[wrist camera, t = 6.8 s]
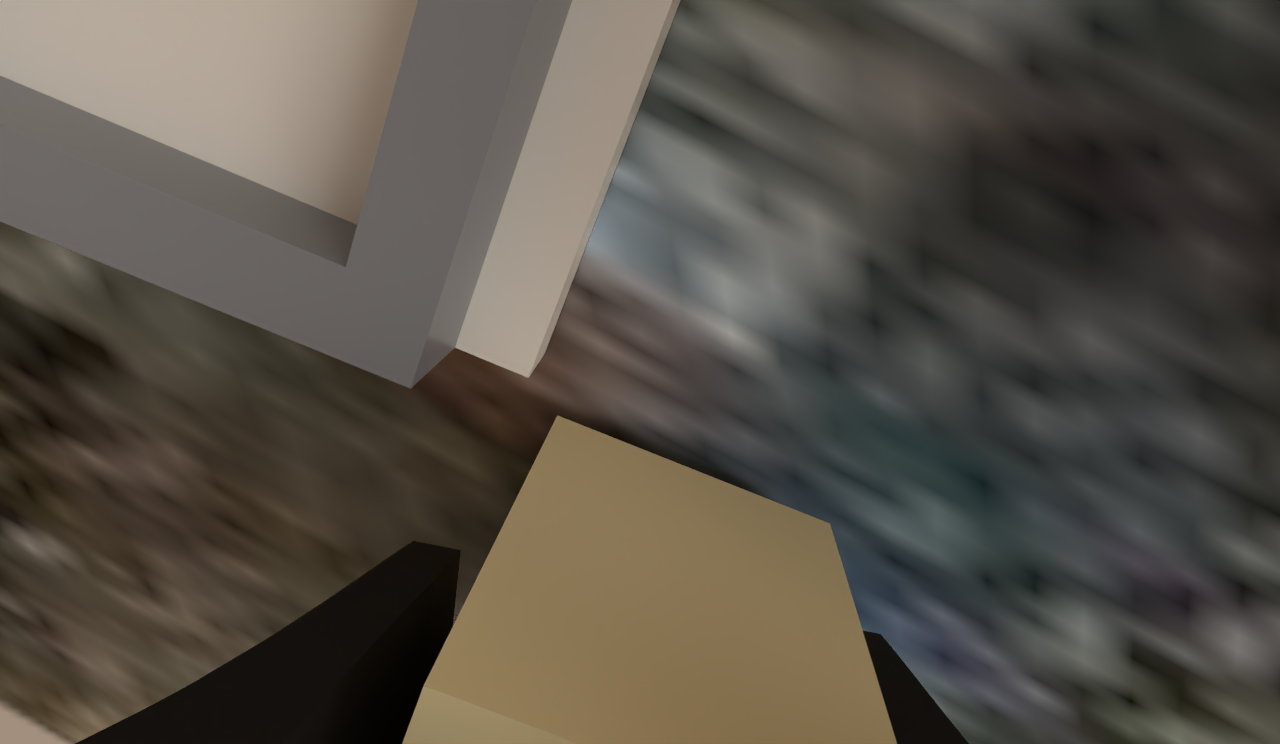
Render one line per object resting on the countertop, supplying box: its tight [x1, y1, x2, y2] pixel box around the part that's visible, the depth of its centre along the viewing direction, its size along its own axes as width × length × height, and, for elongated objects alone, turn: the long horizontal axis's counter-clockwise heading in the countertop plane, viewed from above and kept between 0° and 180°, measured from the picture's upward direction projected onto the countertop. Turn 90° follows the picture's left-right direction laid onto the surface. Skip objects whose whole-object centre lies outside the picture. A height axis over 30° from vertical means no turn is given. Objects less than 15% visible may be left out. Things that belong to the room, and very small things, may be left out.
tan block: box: [402, 415, 897, 744], centre depth 8 cm, size 4×4×5 cm
